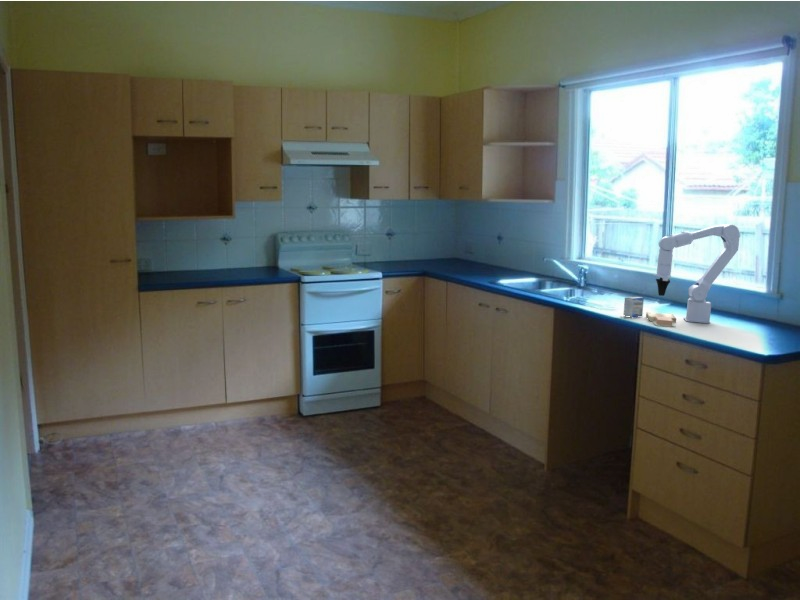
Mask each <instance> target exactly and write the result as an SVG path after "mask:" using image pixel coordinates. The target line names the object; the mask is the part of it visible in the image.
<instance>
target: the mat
mask: <svg viewBox="0 0 800 600" xmlns="http://www.w3.org/2000/svg"><path fill="white" fill-rule="evenodd" d="M653 322H654V323H653ZM652 323H653V325H654V326H657V325H658V324H657V323H656V322H655V321H652ZM660 326H661V327H671V325H660ZM672 326H673V328H676V325H675V323H673V325H672Z"/></svg>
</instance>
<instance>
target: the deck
mask: <svg viewBox="0 0 800 600" xmlns="http://www.w3.org/2000/svg"><path fill="white" fill-rule="evenodd" d="M645 316H646V319H647V318H648V319H647V321H649V320H651V321H650V322H653V321H655V316H659V317H670V318H671V319H672V320H673V324H676V323H677V317H676V316H675V315H674V314H671V313H662V312H661V313H660V312H659V313H658V312H648V311H647V312H646V315H645Z"/></svg>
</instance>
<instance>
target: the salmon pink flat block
mask: <svg viewBox="0 0 800 600" xmlns="http://www.w3.org/2000/svg"><path fill="white" fill-rule="evenodd" d="M655 322H656V323H657V324H658V325H671V326H672V325H673V324H674V323H673V320H672V319H671V318H670V317H659V316H655ZM671 326H670V327H671Z"/></svg>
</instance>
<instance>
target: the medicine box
mask: <svg viewBox="0 0 800 600" xmlns="http://www.w3.org/2000/svg"><path fill="white" fill-rule="evenodd" d="M644 299H645V298H644V296H643V297H642V296H628V297H627V296H626V297H624V301H623V302H624V303H623V304H624V306H623V315H625V316H630V317H636V318H639V317H638V316H642V317H643V314H644V313H643V311H644V302H645V301H644Z"/></svg>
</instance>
